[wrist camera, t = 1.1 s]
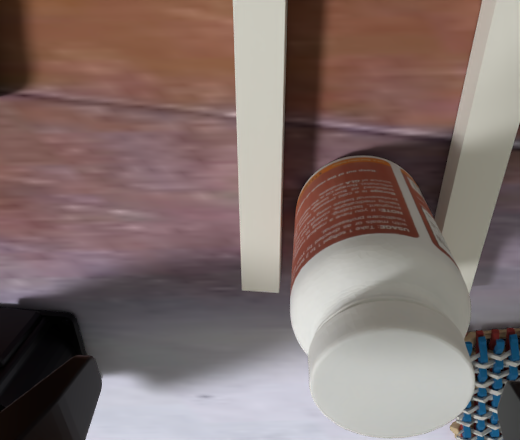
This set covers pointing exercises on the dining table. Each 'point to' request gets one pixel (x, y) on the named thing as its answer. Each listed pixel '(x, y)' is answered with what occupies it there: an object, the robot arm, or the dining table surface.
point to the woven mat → (488, 382)
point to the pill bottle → (378, 302)
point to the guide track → (459, 158)
